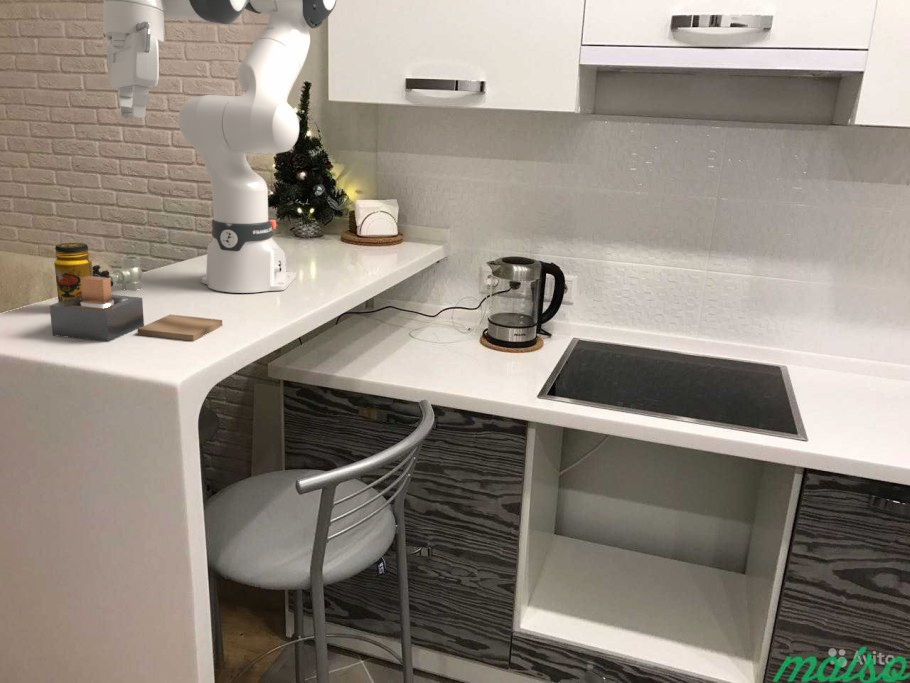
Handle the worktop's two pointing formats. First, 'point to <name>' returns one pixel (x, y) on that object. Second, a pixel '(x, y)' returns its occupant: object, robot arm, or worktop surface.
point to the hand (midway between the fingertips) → (132, 117)
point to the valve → (124, 273)
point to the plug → (96, 292)
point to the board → (180, 327)
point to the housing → (97, 318)
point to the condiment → (71, 269)
